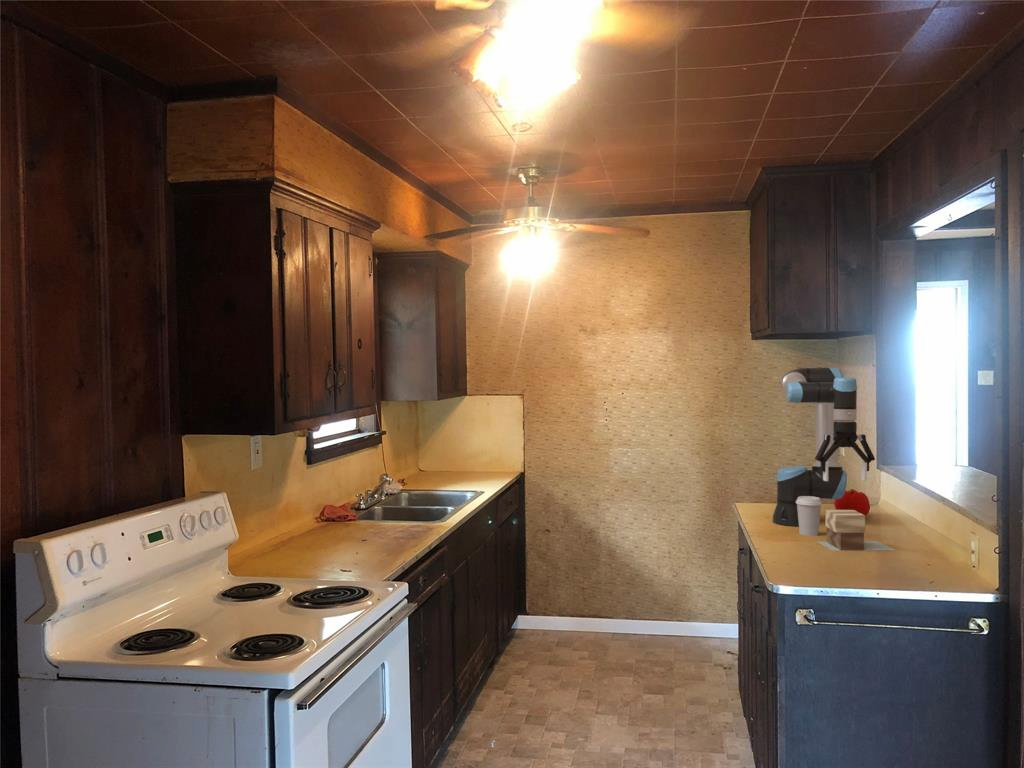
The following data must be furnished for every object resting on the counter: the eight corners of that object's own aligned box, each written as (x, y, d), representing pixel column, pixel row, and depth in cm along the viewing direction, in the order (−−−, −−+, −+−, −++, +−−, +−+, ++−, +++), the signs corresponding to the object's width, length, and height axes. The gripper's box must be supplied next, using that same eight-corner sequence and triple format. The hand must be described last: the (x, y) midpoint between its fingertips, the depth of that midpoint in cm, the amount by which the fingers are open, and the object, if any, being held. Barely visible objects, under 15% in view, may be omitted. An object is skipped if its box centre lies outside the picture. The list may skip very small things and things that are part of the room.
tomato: (868, 521, 317) (868, 493, 316) (832, 518, 324) (832, 490, 323) (871, 515, 328) (871, 488, 328) (836, 512, 335) (836, 486, 335)
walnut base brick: (826, 542, 275) (826, 525, 275) (848, 542, 275) (848, 525, 275) (840, 550, 263) (840, 533, 263) (863, 550, 263) (863, 533, 263)
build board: (817, 544, 276) (817, 541, 276) (877, 544, 276) (877, 541, 276) (832, 553, 263) (832, 550, 263) (895, 553, 263) (895, 549, 263)
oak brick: (825, 526, 274) (825, 509, 274) (853, 526, 274) (853, 509, 273) (835, 532, 264) (835, 515, 264) (864, 532, 264) (864, 515, 263)
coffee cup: (824, 540, 283) (824, 500, 283) (797, 539, 285) (797, 499, 285) (819, 534, 293) (819, 496, 292) (793, 533, 295) (793, 495, 294)
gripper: (814, 422, 264) (813, 482, 265) (885, 421, 264) (885, 481, 265) (805, 420, 272) (805, 479, 272) (875, 419, 272) (874, 478, 272)
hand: (844, 480), depth 269 cm, fingers open, 13 cm apart
